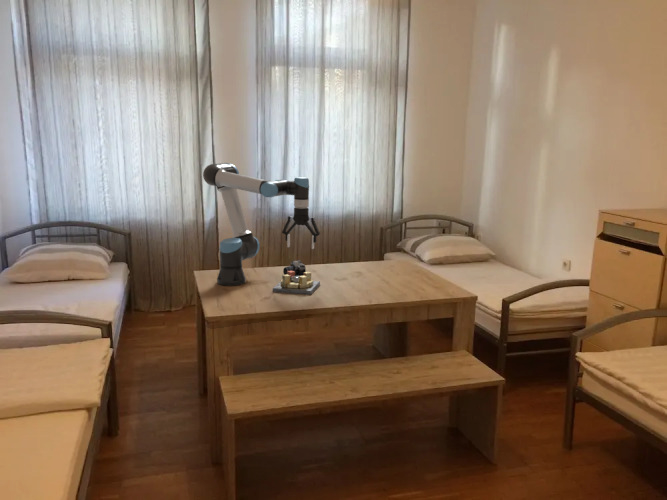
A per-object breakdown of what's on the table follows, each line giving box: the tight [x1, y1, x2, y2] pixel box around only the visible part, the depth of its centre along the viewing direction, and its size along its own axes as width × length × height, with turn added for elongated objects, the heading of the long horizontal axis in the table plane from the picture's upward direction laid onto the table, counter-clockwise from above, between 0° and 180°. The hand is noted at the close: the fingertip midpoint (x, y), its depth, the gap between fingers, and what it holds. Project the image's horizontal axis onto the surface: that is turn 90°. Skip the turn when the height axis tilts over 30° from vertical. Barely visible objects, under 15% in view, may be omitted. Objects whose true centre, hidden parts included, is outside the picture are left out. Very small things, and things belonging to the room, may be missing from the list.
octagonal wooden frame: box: [280, 271, 314, 288], centre depth 300 cm, size 16×16×6 cm
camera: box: [282, 259, 307, 276], centre depth 321 cm, size 16×10×10 cm, turn 27°
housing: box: [272, 276, 321, 295], centre depth 300 cm, size 20×20×6 cm
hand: (300, 247), depth 303 cm, fingers open, 12 cm apart
